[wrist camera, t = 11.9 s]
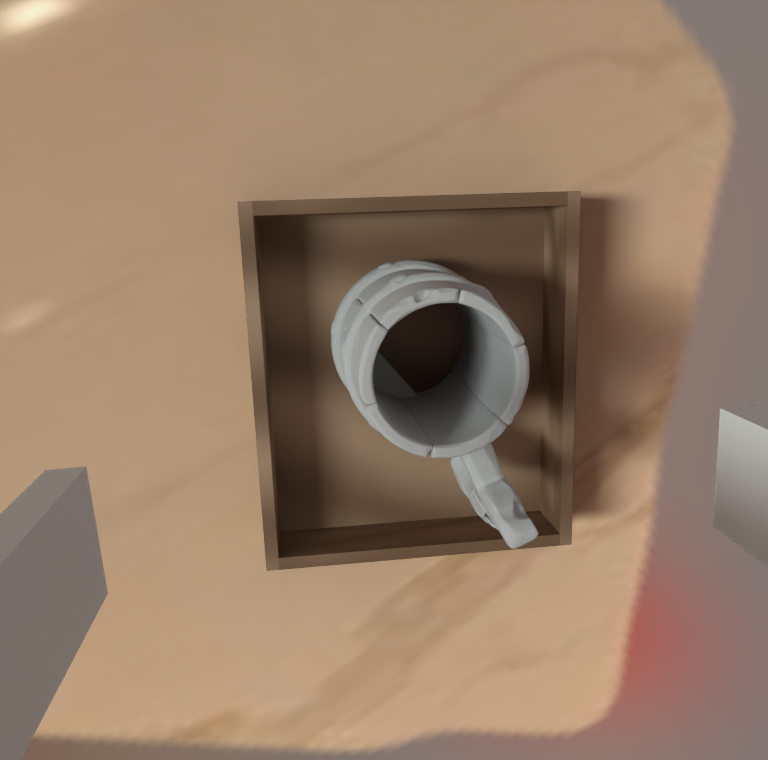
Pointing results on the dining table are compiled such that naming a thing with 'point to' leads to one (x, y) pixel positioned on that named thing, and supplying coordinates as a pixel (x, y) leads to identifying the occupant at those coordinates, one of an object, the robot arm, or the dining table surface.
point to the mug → (449, 397)
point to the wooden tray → (403, 370)
